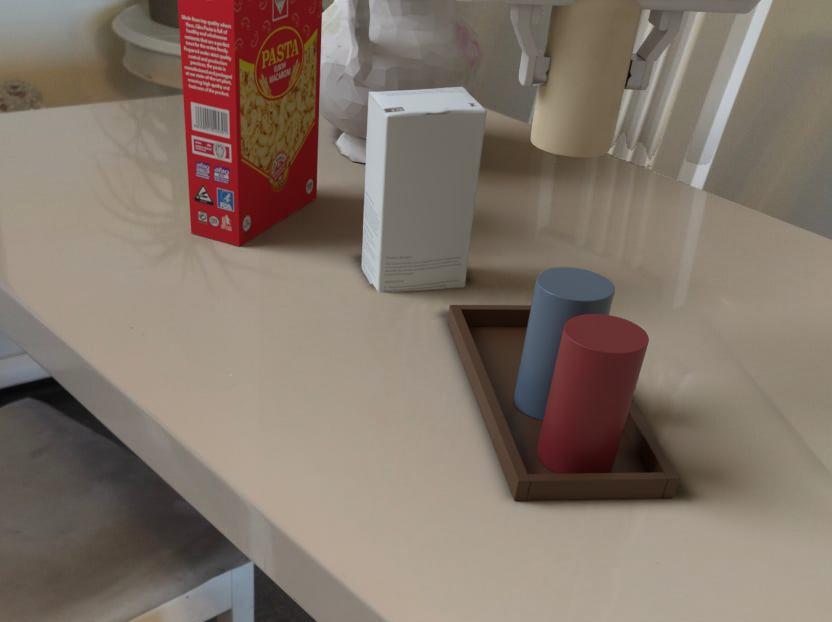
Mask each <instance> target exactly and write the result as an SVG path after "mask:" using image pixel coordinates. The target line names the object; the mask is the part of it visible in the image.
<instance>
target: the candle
mask: <svg viewBox="0 0 832 622" xmlns="http://www.w3.org/2000/svg"><path fill="white" fill-rule="evenodd" d="M550 11H551V13H550V17H549V23H548V29H547V34H546V41H545V46H544V51H545V53H546V54H547V55H548V56H550V57H551V60H550V66H549V70H548V71H547V72H546V74H547V82H546V85H545V86H537V87H538V88H537V94H536V99H535V104H534V105H535V106H534V112H533V118H532V125H531V130H530V142H531V144H532V145H533V146H534V147H536V148H537V149H539V150H542V151H544V152H547V153H550V154H554V155H559V156H564V157H572V158H594V157H595V158H596V157H600V156H603V155H606V154H607V153H609V151H610V149H611V147H612V144H613V142H614V141H613V140H614V136H615V133H616V128H617V123H618V119H619V115H620V110H621V107H622V101H623V97H624V92H625V89H624V88H625V84H626V79H627V75H628V70H629V66H630V62H631V57H632V53H633V52H634V47H635V43H636V39H637V35H638V30H639V26H640V21H641V16H642V12H643V9H641V8H640V5H639V4H638V2H637V1H636V0H577V1H575V2H574V3H573V4H572V5H570V6H554V5H551V10H550Z"/></svg>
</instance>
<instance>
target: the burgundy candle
mask: <svg viewBox="0 0 832 622" xmlns="http://www.w3.org/2000/svg"><path fill="white" fill-rule="evenodd" d="M649 342H650V338H649V334H648V333H647V332H646V330H645V329H644V328H643V327H641V326H640V325H638V324H636V323H635V322H633V321H631V320H628V319H626V318H623V317H619V316H616V315H611V314H609V315H605V314H584V315H579V316H575V317H573V318H571V319H569V320H568V321H567V322H566V323H565V325H564V328H563V333H562V337H561V342H560V346H559V351H558V355H557V360H556V364H555V369H554V374H553V378H552V383H551V387H550V392H549V396H548V401H547V406H546V410H545V415H544V419H543V424H542V428H541V433H540V437H539V442H538V447H537V457H538V459H539V461H540V462H541V463H542V464H543V465H544V466H545V467H546V468H547V469H549V470H551V471H552V472H554V473H557V474H578V473H609V472H610V471H611V469H612V468H613V465H614V461H615V458H616V454H617V451H618V447H619V444H620V440H621V437H622V433H623V430H624V426H625V423H626V419H627V416H628V413H629V409H630V406H631V402H632V400H633V398H634V394H635V391H636V388H637V385H638V381H639V378H640V374H641V370H642V366H643V363H644V360H645V357H646V352H647V350H648V346H649Z"/></svg>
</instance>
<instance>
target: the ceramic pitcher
mask: <svg viewBox="0 0 832 622" xmlns="http://www.w3.org/2000/svg"><path fill="white" fill-rule="evenodd" d="M483 65H484V50H483V45H482V40H481V37H480V35H479V34H478V32H477V31H476V30H475V29H474V27H473V26H472V25H471V24H470V23H469V22H468V21H467V20H466V18H465V17H464V16H463V15H462V13H461V12H460V11H459V10H458V8H457V6H456V4H455V2H454V0H333V2H332V3H331V4H330V5H329V6H328V7H327V8H326V9H325V10H324V11H322V33H321V66H320V99H319V115H321V116H322V117H323V119H324V120H325V121H327V122H328V123H329V124H330V125H332V127H334V128H336V129H337V130H340V131H342V133H341V134H340V136H339V137H338V139H337V140H336V141H334V144H335V146H336V148H337V150H338V151H339V152H340V154H341V155H343V156H344V157H346V158H347V159H348V160H350V161H351V162H354V163H355V162H357V163H361V164H366V138H367V119H368V98H369V92H382V91H402V90H421V89H436V88H450V87H463V88H464V89H466V91H467V92H468V93H469V94H470V95H471V96H472V97H473V98H474V99H475V100H476V97H477V95H478V94H477V93H478V90H479V87H480V83H481V80H482V73H483Z"/></svg>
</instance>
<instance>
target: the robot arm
mask: <svg viewBox="0 0 832 622" xmlns="http://www.w3.org/2000/svg"><path fill="white" fill-rule="evenodd" d="M455 1H456V2H462V3H463V2H464V3H465V2H466V3H467V2H468V3H486V4H487V3H489V4H508V5H509V4H511V8H510V14H509V18H510V22H511V24H512V27H513V31H514V34H515V37H516V39H517V42H518V45H519V48H520V50H521V57H520V64H519V69H518V83H520V85H521V86H522V87H539V86H545V85H546V82H547V74H546V72H547V71H548V70H549V66H550V60H551V57H550V56H548V55H547V54H546V53H545V49H537V44H536V41H535V38H534V36H533V32H532V28H531V26H538V25H539V24H540V21H541V15H542V10H543V6H552V5H554V6H570V5H572V4H573V3H574V2H575V1H577V0H455ZM636 1H637V2H638V4H639V5H640V8H641V9H642V10H646V11H647V10H648V11H649V14H648V19H647V21H648V23H649V24H651V25H652V26H653V28H652V29H651V30H650V32H649V34H648V35H647V36H646V37H645V39H644V41H643V42H642V43H641V45H640V46H639V47H638V49H637V51H636V53H632V57H631V62H630V66H629V70H628V75H627V79H626V84H625V88H624V90H629V91H630V90H631V91H632V90H633V91H647V89H648V87H649V85H650V80H651V76H652V73H653V68H654V63H655V62H656V61H658V59H659V58H660V57H661V55H662V54H663V53H664V51H665V50H666V49H667V48H668V47H669V46H670V44H671V43H672V41H673V40H674V39H675V38H676V36H677V35H678V34H679V32H680V29H681V25H682V21H683V18H684V14H685V12H693V13H717V14H737V15H738V14H740V15H741V14H743V15H745V14H749V13H750V12H752V10H754V9H755V7H756V6H757V5H758V4H759V3H760V2H761V1H762V0H636ZM530 25H531V26H530Z"/></svg>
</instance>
